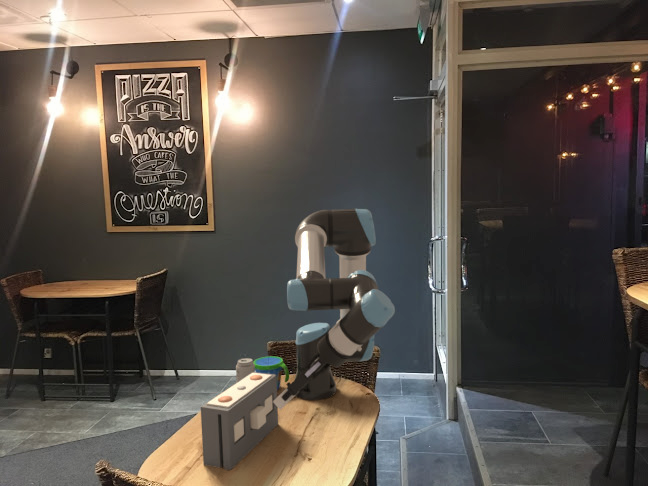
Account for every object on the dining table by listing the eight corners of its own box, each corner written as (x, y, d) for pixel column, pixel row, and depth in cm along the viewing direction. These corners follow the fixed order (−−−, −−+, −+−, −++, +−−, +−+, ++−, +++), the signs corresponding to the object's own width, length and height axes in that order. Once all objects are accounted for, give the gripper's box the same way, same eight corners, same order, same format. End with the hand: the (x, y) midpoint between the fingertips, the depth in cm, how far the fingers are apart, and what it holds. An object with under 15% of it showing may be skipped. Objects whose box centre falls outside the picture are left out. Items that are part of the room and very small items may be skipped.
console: (203, 464, 123) (200, 406, 121) (254, 420, 147) (252, 371, 145) (230, 470, 120) (227, 411, 118) (278, 424, 144) (276, 374, 143)
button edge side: (226, 440, 123) (225, 424, 123) (235, 432, 127) (234, 416, 127) (234, 442, 122) (234, 425, 122) (244, 434, 126) (243, 418, 126)
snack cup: (242, 389, 171) (241, 361, 171) (261, 380, 180) (260, 353, 180) (278, 398, 163) (277, 368, 162) (295, 387, 172) (294, 359, 171)
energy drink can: (252, 409, 155) (251, 363, 153) (235, 408, 156) (233, 363, 155) (258, 401, 161) (256, 357, 159) (241, 400, 162) (239, 357, 160)
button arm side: (257, 414, 138) (256, 399, 137) (264, 408, 142) (264, 393, 141) (265, 415, 137) (264, 400, 136) (272, 409, 141) (272, 394, 140)
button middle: (249, 427, 129) (248, 412, 129) (257, 420, 134) (257, 405, 133) (258, 429, 129) (257, 413, 128) (266, 422, 133) (265, 406, 132)
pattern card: (206, 404, 123) (206, 402, 122) (252, 373, 144) (252, 372, 144) (228, 408, 120) (228, 405, 120) (271, 376, 141) (271, 374, 141)
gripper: (341, 365, 104) (275, 428, 112) (359, 348, 116) (299, 405, 124) (317, 339, 106) (254, 403, 113) (338, 324, 118) (279, 383, 125)
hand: (277, 404), depth 119 cm, fingers closed
